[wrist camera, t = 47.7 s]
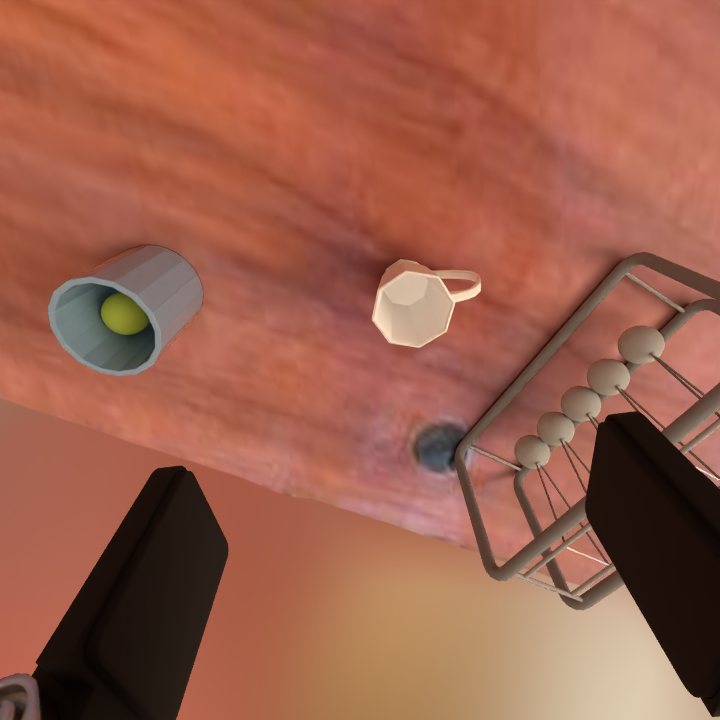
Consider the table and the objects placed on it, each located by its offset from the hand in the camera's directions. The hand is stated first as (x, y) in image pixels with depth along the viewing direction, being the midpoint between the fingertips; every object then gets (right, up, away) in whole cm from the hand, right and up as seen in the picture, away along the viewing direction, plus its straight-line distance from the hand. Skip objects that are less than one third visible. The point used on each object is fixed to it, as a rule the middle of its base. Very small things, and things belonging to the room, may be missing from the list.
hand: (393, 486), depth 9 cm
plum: (-21, +7, +27) cm, 35 cm away
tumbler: (-21, +10, +31) cm, 39 cm away
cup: (+5, +11, +31) cm, 33 cm away
